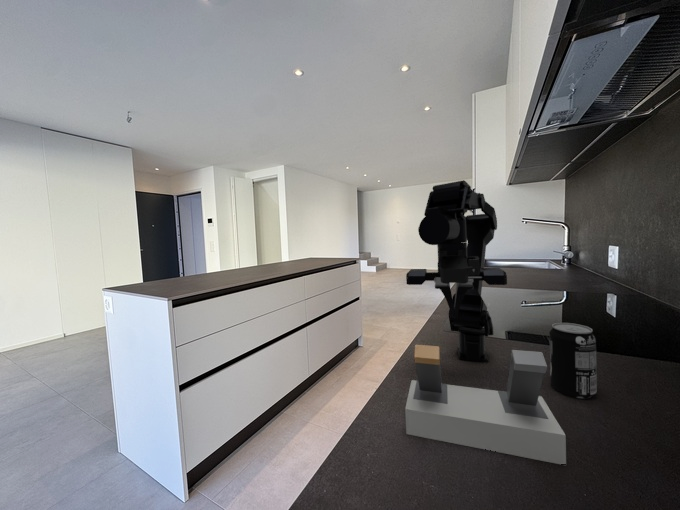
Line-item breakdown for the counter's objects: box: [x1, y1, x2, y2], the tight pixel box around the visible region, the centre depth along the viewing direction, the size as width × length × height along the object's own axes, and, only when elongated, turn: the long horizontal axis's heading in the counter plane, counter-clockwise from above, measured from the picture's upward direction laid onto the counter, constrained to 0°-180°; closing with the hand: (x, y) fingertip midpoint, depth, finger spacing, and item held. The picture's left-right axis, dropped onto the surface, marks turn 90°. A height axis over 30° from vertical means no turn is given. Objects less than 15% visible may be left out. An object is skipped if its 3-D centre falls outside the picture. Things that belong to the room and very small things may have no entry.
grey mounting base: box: [404, 379, 567, 465], centre depth 42 cm, size 9×20×4 cm, turn 69°
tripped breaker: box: [413, 344, 443, 393], centre depth 43 cm, size 2×4×10 cm
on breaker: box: [506, 349, 548, 406], centre depth 39 cm, size 2×4×10 cm, turn 70°
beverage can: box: [548, 322, 598, 399], centre depth 51 cm, size 7×7×12 cm
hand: (454, 316), depth 57 cm, fingers closed
